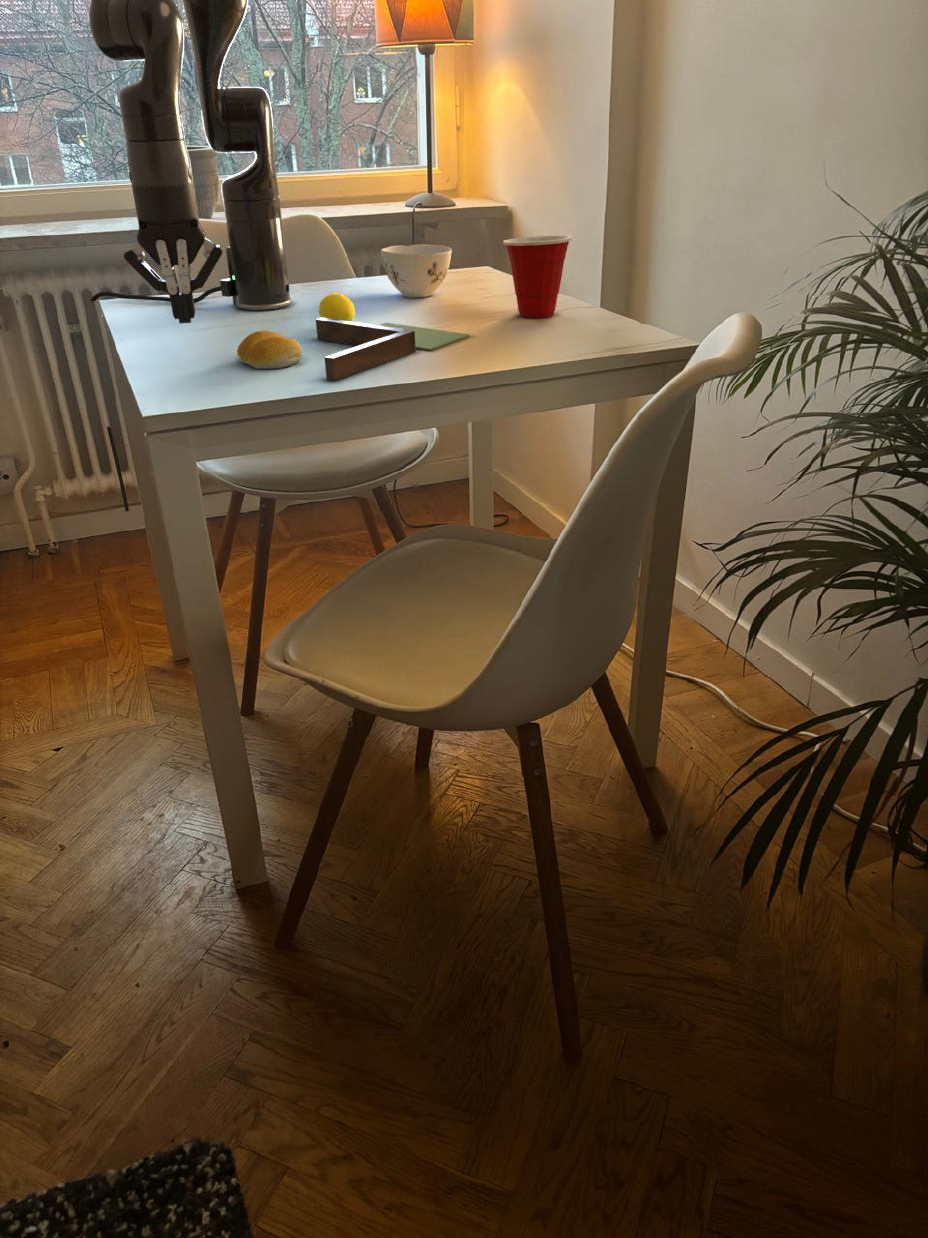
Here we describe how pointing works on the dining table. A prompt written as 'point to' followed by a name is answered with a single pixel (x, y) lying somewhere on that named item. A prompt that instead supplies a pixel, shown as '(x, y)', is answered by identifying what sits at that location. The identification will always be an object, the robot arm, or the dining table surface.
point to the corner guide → (362, 346)
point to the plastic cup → (537, 272)
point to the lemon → (337, 307)
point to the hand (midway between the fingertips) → (185, 321)
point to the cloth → (430, 336)
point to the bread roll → (269, 350)
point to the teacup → (416, 268)
